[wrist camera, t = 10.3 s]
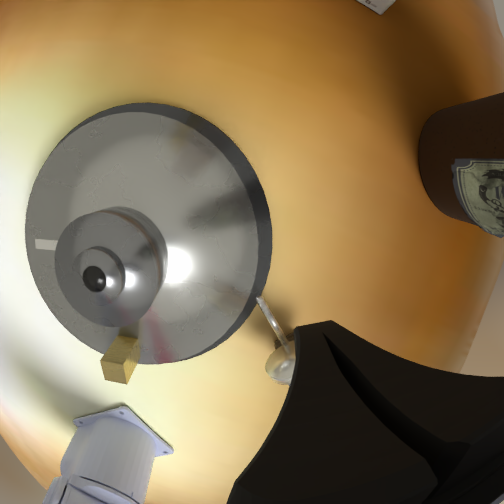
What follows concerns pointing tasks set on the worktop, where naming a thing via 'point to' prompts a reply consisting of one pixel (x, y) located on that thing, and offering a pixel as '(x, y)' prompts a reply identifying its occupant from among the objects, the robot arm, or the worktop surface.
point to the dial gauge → (279, 350)
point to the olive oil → (466, 162)
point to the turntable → (168, 222)
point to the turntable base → (246, 177)
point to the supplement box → (377, 5)
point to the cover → (111, 265)
